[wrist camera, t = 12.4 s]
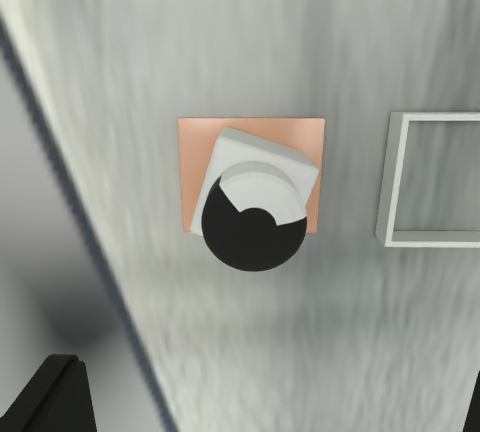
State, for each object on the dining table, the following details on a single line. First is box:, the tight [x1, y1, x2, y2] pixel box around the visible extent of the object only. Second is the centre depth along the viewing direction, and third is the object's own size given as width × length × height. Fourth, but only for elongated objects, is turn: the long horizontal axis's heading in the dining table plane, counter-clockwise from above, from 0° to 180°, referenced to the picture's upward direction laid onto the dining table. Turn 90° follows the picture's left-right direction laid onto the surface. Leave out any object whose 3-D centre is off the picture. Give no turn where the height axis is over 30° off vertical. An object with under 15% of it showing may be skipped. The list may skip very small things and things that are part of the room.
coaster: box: [178, 118, 325, 233], centre depth 32 cm, size 12×10×1 cm
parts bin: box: [375, 112, 480, 247], centre depth 31 cm, size 11×11×2 cm
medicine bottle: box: [190, 126, 319, 272], centre depth 26 cm, size 7×7×12 cm
